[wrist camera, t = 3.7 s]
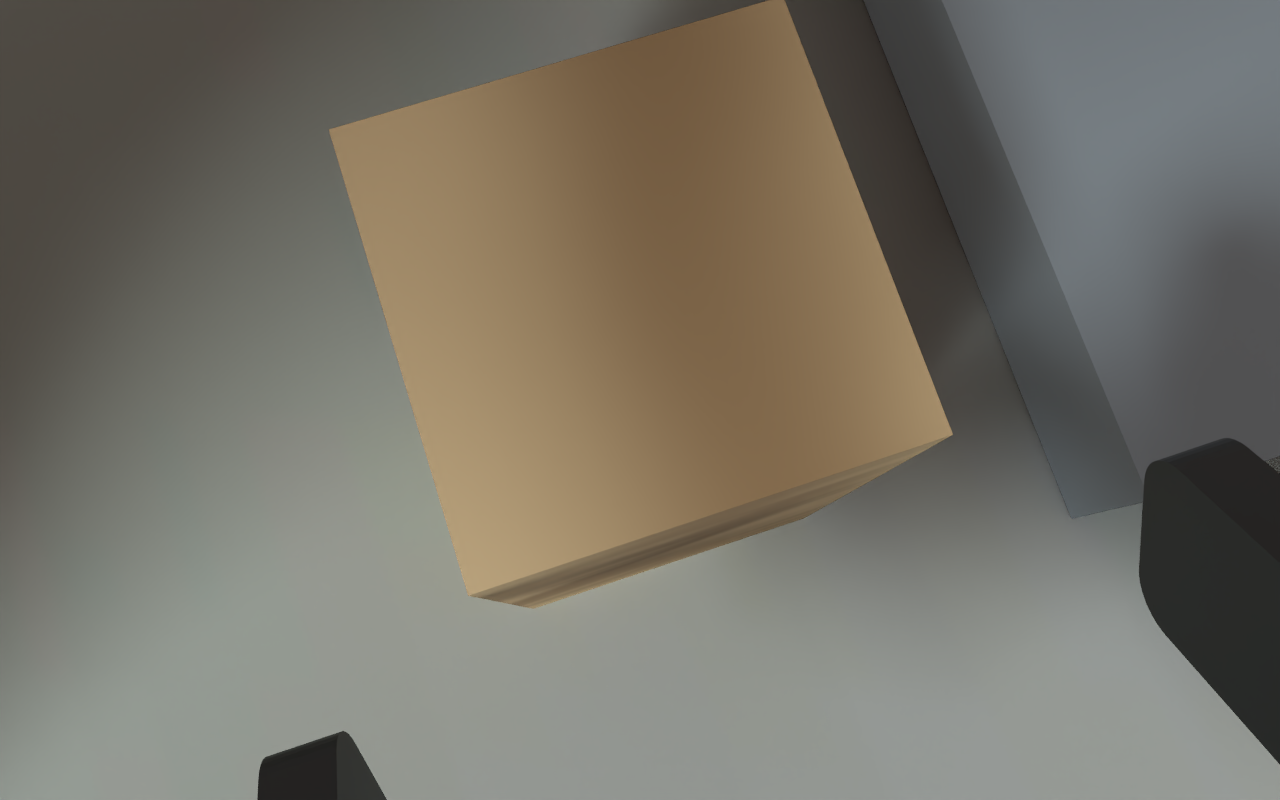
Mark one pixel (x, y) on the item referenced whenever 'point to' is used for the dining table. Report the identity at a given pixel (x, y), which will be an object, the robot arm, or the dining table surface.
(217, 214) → the dining table surface
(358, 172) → the block
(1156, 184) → the plinth
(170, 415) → the dining table surface
